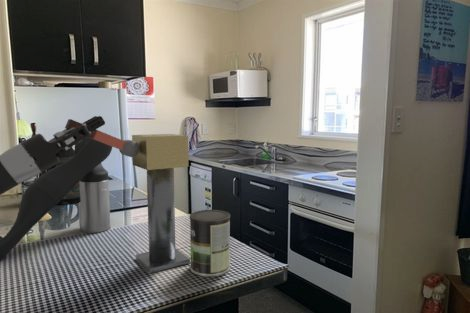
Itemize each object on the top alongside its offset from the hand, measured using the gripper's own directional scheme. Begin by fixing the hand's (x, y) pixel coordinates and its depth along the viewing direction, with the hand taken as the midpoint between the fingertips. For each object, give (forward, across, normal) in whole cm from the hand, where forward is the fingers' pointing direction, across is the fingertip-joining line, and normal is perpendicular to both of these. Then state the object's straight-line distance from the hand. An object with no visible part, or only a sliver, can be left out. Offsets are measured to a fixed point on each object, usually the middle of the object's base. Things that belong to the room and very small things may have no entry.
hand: (100, 119), depth 83 cm
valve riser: (-6, 0, -40) cm, 41 cm away
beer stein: (-16, -90, -36) cm, 98 cm away
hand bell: (-28, -63, -29) cm, 75 cm away
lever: (-3, 0, -5) cm, 6 cm away
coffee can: (+2, +11, -45) cm, 46 cm away
